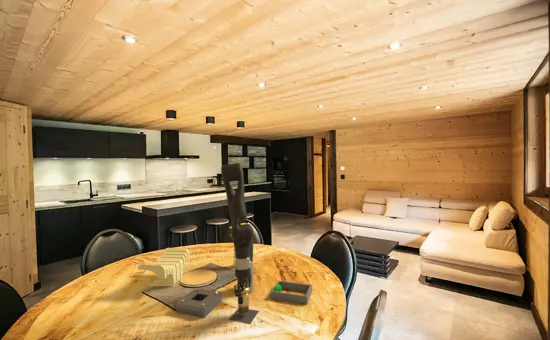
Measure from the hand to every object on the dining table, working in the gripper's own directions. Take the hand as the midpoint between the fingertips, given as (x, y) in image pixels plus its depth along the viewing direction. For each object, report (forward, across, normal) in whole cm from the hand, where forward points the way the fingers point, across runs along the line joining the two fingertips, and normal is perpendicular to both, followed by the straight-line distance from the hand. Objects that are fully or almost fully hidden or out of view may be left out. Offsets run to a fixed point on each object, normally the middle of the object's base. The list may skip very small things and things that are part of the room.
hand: (243, 300), depth 126 cm
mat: (+7, 0, 0) cm, 7 cm away
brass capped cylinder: (+5, 0, 0) cm, 5 cm away
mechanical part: (+10, -21, +7) cm, 24 cm away
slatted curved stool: (+8, -17, -61) cm, 64 cm away
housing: (+8, 0, -25) cm, 26 cm away
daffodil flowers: (+7, -54, -29) cm, 62 cm away
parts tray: (+7, -26, +17) cm, 32 cm away
